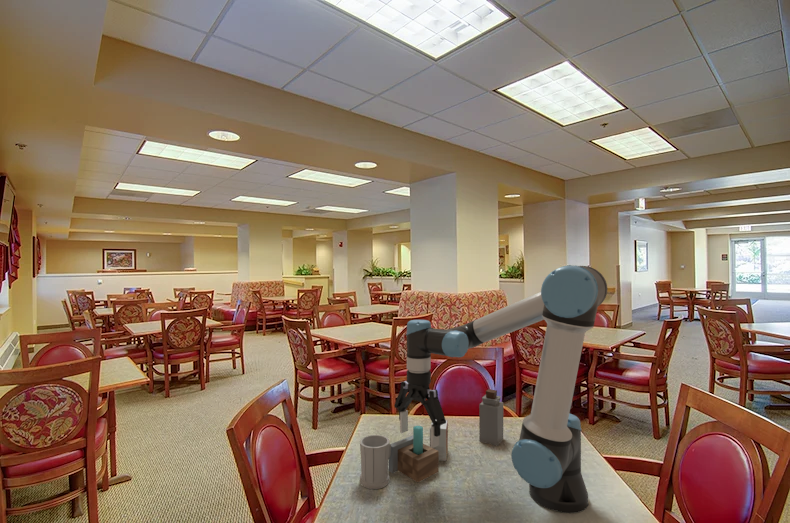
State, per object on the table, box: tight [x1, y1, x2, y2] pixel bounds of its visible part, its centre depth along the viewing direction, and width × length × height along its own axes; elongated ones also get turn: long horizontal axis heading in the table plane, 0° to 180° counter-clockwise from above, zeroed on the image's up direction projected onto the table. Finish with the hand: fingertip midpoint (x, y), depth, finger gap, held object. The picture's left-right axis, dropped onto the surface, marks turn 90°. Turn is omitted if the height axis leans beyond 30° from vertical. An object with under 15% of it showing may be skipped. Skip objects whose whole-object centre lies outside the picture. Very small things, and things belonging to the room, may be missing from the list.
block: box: [397, 443, 440, 483], centre depth 122 cm, size 9×9×6 cm
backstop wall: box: [388, 434, 413, 474], centre depth 126 cm, size 2×13×8 cm, turn 131°
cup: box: [359, 434, 391, 490], centre depth 117 cm, size 10×9×12 cm
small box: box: [429, 419, 449, 462], centre depth 133 cm, size 8×6×10 cm
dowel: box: [412, 425, 424, 455], centre depth 122 cm, size 3×3×12 cm
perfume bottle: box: [478, 388, 504, 447], centre depth 144 cm, size 7×7×18 cm
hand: (418, 438), depth 122 cm, fingers open, 13 cm apart
